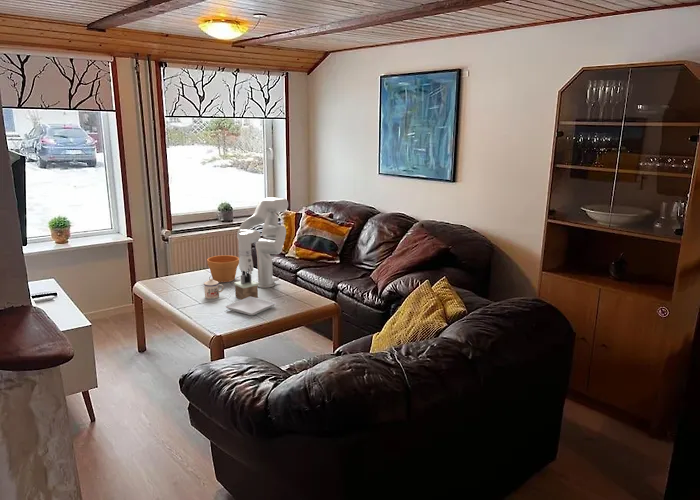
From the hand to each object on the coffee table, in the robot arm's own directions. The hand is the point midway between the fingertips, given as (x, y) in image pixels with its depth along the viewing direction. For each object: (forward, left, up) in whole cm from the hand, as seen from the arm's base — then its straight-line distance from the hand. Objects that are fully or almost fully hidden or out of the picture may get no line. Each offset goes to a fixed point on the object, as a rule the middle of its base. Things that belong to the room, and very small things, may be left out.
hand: (246, 281), depth 334 cm
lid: (0, 0, -2) cm, 2 cm away
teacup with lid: (+15, -13, -10) cm, 23 cm away
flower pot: (-7, -42, -10) cm, 44 cm away
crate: (0, 0, -10) cm, 10 cm away
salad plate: (+9, +21, -11) cm, 25 cm away
